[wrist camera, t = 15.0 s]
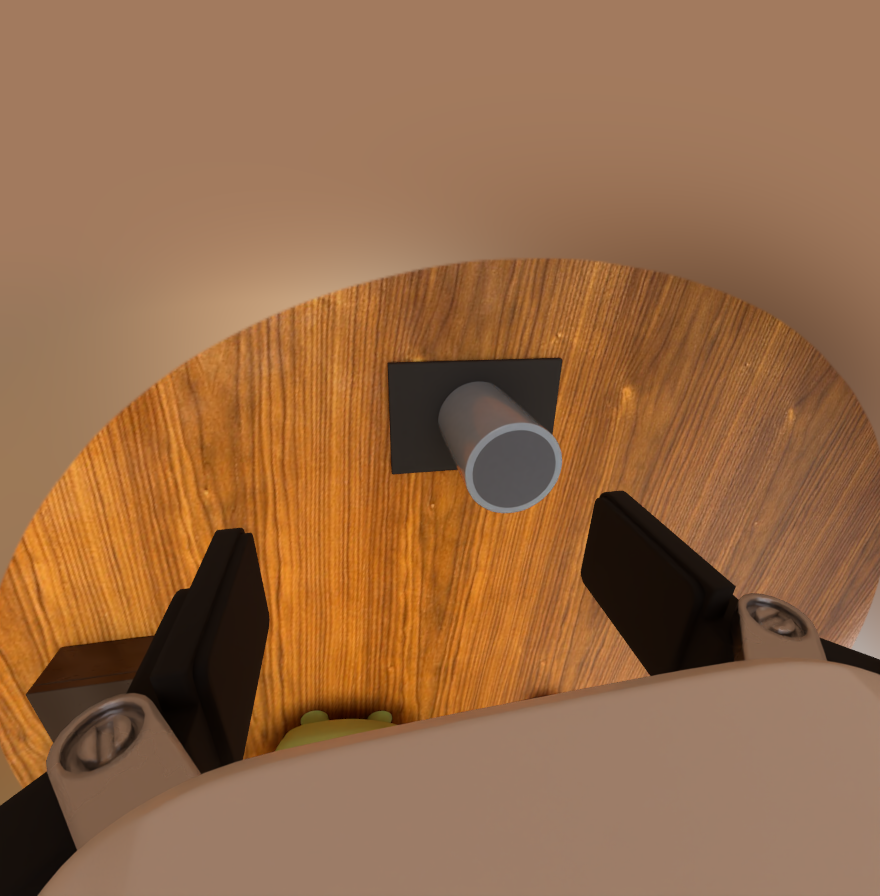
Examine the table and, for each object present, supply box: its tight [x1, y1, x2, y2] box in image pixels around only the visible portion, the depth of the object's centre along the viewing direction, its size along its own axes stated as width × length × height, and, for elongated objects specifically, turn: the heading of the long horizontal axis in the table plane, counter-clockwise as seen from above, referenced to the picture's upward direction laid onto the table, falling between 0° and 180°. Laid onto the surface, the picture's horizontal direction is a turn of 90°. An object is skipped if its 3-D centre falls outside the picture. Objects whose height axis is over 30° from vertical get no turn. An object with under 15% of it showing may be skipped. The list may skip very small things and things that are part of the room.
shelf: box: [26, 636, 154, 743], centre depth 39 cm, size 12×12×9 cm
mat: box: [388, 358, 562, 474], centre depth 38 cm, size 15×10×1 cm, turn 89°
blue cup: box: [438, 381, 562, 513], centre depth 33 cm, size 7×7×10 cm
